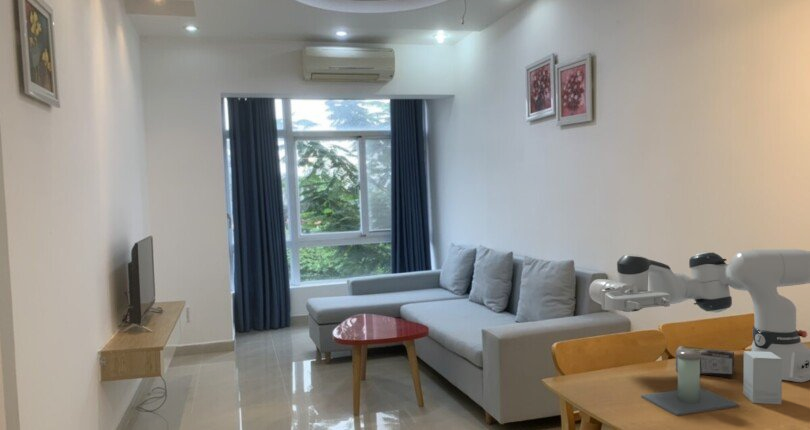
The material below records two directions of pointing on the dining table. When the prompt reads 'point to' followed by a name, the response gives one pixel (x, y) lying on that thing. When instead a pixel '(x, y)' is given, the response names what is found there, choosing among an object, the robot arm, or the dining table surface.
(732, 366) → the coffee box
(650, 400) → the cutting board
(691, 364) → the ceramic jar
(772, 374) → the supplement box
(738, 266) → the robot arm
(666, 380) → the dining table surface
